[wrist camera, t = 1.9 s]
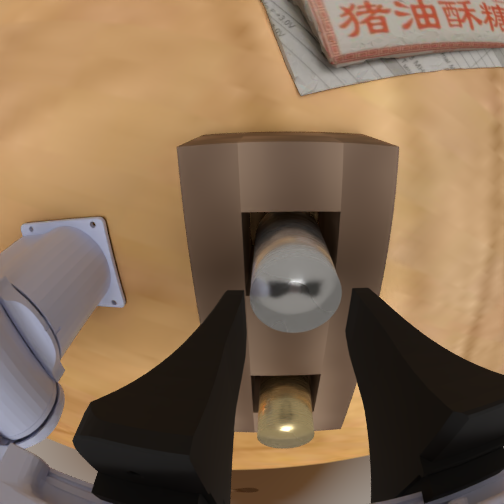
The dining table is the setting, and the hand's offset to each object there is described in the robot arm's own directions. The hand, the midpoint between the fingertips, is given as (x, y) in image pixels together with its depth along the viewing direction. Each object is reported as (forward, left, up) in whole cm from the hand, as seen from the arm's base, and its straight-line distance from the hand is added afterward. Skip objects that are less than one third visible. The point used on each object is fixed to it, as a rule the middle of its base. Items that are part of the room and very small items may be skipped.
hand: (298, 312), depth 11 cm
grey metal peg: (0, 0, -7) cm, 7 cm away
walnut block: (0, -5, -10) cm, 12 cm away
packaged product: (+8, +15, -11) cm, 20 cm away
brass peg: (0, -11, -7) cm, 13 cm away
